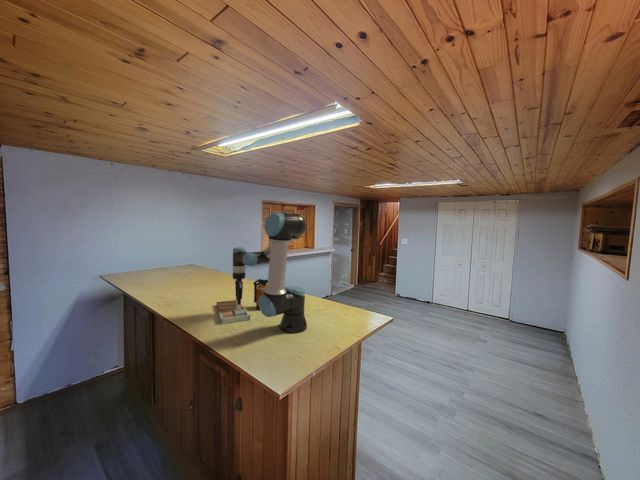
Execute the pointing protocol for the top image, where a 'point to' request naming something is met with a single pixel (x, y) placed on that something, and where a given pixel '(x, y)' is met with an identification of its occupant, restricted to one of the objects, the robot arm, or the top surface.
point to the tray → (234, 318)
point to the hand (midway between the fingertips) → (238, 309)
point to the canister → (259, 290)
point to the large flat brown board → (227, 306)
